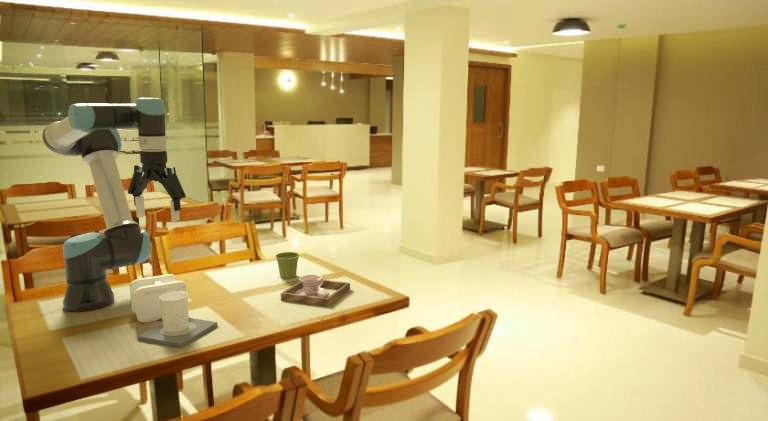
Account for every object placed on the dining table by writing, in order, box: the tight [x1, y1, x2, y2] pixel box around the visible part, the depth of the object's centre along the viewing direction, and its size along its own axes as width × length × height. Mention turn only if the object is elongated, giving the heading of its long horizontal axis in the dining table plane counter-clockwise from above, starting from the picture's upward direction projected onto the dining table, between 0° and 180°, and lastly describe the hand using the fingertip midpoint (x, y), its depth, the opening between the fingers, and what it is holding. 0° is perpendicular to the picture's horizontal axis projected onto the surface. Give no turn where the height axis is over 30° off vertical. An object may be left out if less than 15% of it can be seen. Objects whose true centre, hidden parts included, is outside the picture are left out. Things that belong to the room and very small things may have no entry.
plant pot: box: [274, 251, 301, 280], centre depth 209 cm, size 9×9×9 cm
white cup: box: [159, 291, 190, 332], centre depth 156 cm, size 8×8×10 cm
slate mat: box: [137, 317, 218, 349], centre depth 157 cm, size 15×16×1 cm
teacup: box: [294, 274, 329, 298], centre depth 189 cm, size 12×12×6 cm
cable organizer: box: [129, 273, 188, 323], centre depth 169 cm, size 15×11×12 cm
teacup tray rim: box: [280, 279, 351, 307], centre depth 189 cm, size 18×18×2 cm
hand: (158, 219), depth 165 cm, fingers open, 13 cm apart
